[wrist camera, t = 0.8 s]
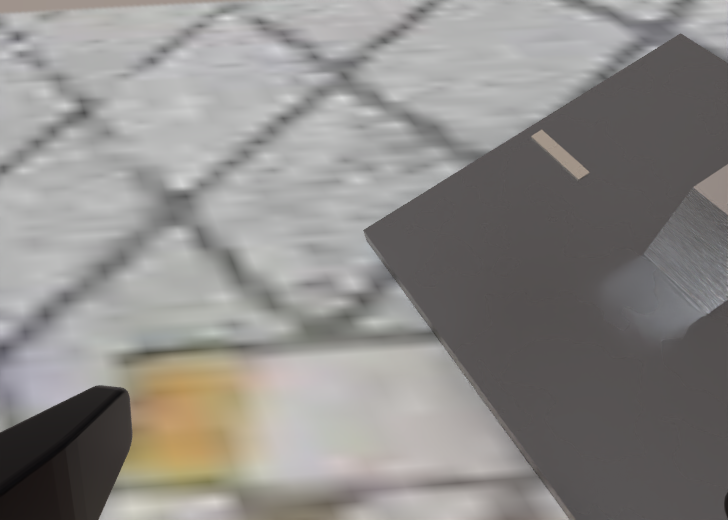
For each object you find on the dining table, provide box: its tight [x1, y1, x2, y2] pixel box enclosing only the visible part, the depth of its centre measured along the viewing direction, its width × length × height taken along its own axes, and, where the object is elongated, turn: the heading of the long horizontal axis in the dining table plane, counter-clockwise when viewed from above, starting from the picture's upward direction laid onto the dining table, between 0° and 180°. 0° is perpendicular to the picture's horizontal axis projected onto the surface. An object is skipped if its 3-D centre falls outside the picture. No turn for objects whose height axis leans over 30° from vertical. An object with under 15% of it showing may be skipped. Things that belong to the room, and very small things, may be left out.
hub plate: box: [363, 34, 728, 520], centre depth 17 cm, size 18×18×6 cm
